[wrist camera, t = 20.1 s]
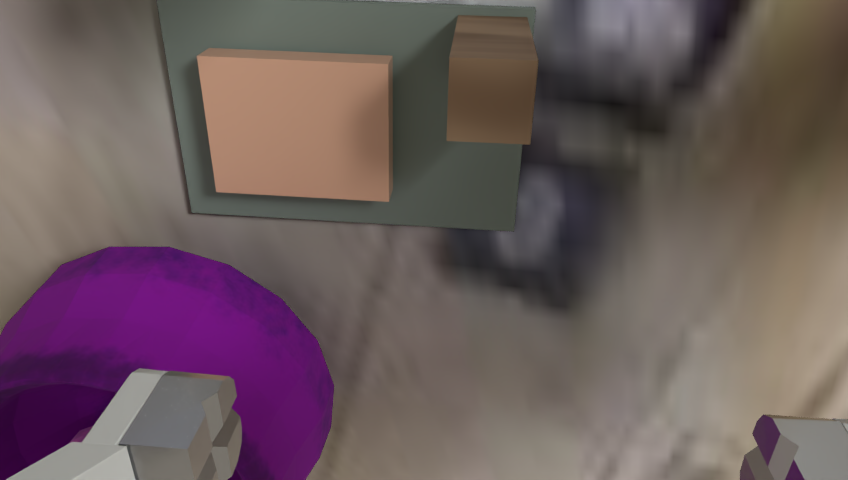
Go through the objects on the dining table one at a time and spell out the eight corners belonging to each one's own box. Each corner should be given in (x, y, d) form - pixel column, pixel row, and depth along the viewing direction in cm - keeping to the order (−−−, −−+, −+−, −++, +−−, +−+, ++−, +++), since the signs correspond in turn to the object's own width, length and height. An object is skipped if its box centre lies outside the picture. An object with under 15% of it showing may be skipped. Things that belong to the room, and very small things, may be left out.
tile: (388, 64, 31) (196, 55, 31) (389, 201, 34) (216, 192, 35) (393, 54, 32) (211, 46, 33) (393, 186, 36) (228, 177, 36)
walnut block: (521, 85, 33) (530, 144, 26) (455, 82, 33) (446, 141, 26) (527, 17, 31) (538, 60, 24) (458, 14, 31) (449, 57, 24)
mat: (534, 7, 31) (535, 9, 31) (513, 226, 37) (513, 231, 36) (161, -7, 32) (155, -5, 32) (195, 208, 38) (191, 212, 38)
